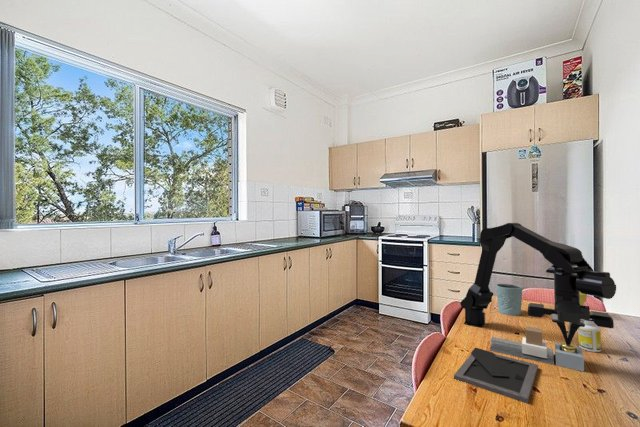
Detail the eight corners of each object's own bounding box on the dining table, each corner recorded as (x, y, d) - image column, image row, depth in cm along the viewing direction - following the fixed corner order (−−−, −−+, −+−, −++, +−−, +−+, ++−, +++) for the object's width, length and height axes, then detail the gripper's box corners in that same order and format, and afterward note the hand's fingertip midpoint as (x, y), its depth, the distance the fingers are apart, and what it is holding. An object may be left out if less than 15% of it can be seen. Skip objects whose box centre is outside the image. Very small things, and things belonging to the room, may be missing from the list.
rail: (490, 350, 95) (489, 342, 95) (493, 342, 101) (493, 334, 101) (553, 364, 85) (553, 355, 85) (553, 354, 91) (552, 346, 91)
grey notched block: (556, 365, 85) (555, 351, 85) (555, 355, 91) (554, 342, 91) (584, 371, 81) (583, 357, 81) (581, 360, 87) (580, 347, 88)
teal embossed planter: (495, 313, 132) (495, 286, 132) (497, 307, 140) (496, 282, 140) (523, 317, 126) (522, 289, 126) (523, 311, 134) (522, 285, 134)
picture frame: (475, 353, 94) (453, 381, 78) (475, 347, 94) (453, 373, 78) (537, 370, 83) (527, 405, 67) (537, 363, 83) (527, 397, 67)
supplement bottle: (595, 346, 97) (594, 316, 97) (605, 353, 92) (604, 321, 92) (575, 344, 99) (574, 314, 99) (583, 351, 94) (582, 320, 94)
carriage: (522, 353, 90) (521, 330, 90) (523, 346, 95) (522, 324, 95) (546, 359, 87) (546, 334, 87) (546, 351, 92) (546, 328, 92)
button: (561, 358, 86) (560, 344, 86) (560, 353, 89) (560, 340, 89) (577, 361, 84) (577, 348, 84) (576, 356, 86) (575, 343, 87)
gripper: (526, 291, 86) (527, 345, 85) (616, 301, 75) (618, 364, 74) (528, 284, 95) (529, 333, 94) (609, 292, 83) (610, 348, 83)
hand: (568, 344), depth 86 cm, fingers closed, pressing on button
